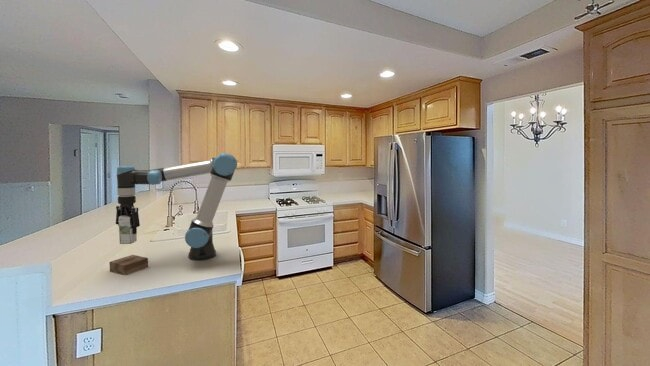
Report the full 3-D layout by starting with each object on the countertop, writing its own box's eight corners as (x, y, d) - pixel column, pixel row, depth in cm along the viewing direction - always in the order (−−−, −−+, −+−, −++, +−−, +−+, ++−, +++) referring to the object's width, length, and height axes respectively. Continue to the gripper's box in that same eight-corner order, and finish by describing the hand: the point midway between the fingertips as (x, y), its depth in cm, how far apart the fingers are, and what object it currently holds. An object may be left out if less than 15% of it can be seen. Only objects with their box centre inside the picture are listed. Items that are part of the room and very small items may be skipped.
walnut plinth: (148, 266, 150) (147, 257, 149) (125, 275, 139) (124, 265, 138) (133, 263, 154) (132, 254, 154) (109, 271, 143) (109, 261, 143)
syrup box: (137, 240, 149) (136, 214, 147) (131, 244, 143) (130, 216, 142) (125, 241, 148) (124, 214, 146) (119, 244, 142) (118, 216, 141)
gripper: (147, 196, 143) (148, 239, 145) (121, 193, 150) (122, 234, 152) (132, 198, 136) (134, 243, 138) (105, 195, 143) (107, 238, 145)
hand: (128, 238), depth 145 cm, fingers closed on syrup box, 8 cm apart
